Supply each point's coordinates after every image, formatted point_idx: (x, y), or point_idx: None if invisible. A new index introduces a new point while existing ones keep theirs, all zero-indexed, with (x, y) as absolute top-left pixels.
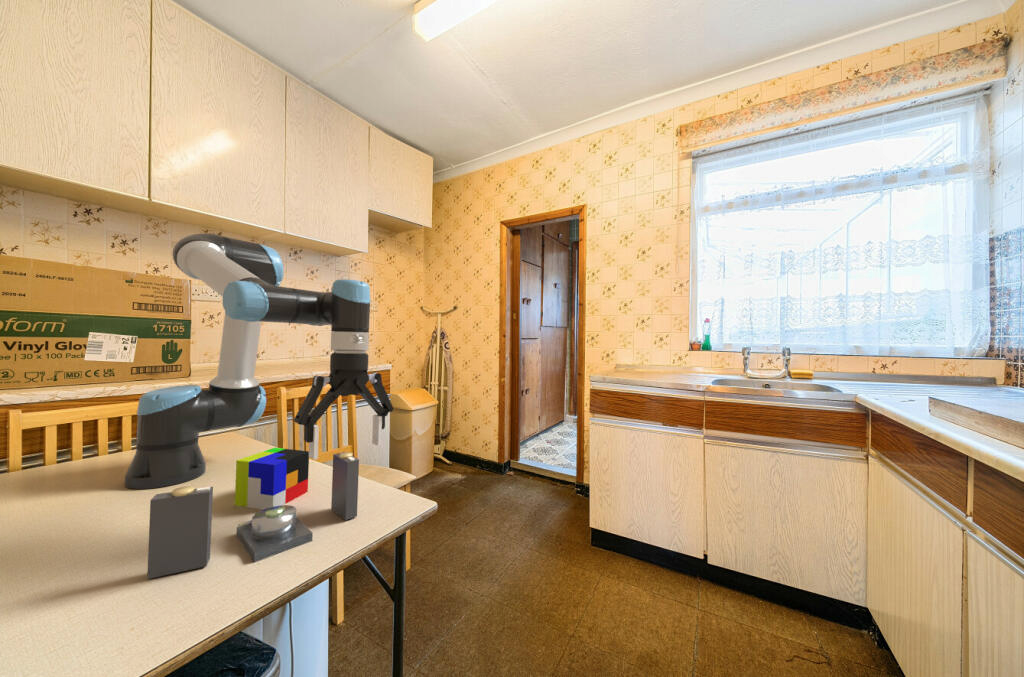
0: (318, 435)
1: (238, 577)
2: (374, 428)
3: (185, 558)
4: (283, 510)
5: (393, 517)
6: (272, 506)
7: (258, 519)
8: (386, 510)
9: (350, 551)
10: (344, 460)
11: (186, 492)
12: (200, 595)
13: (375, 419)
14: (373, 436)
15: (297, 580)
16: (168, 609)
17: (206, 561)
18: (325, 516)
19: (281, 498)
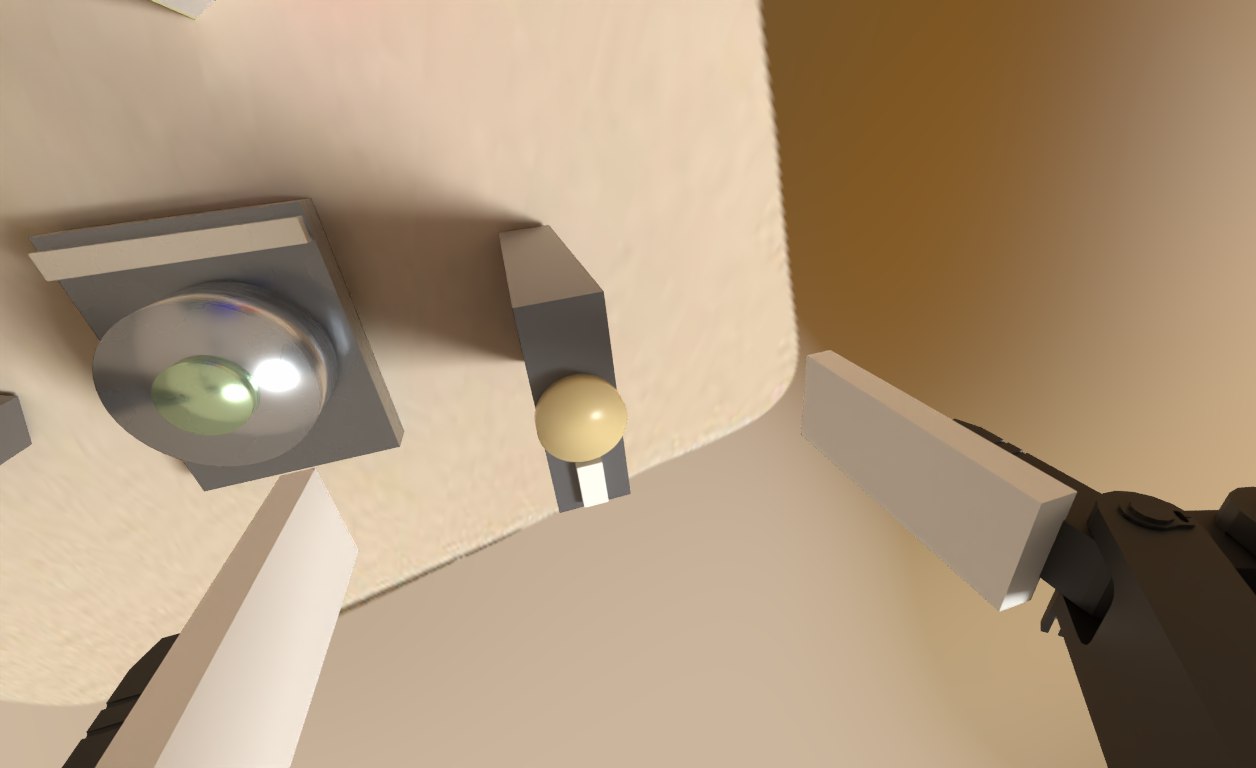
0: (296, 743)
1: (188, 524)
2: (897, 449)
3: None
4: (251, 413)
5: (668, 411)
6: (178, 10)
7: (138, 412)
8: (673, 353)
9: (501, 525)
10: (551, 476)
11: None
12: (95, 560)
13: (978, 525)
14: (843, 397)
15: (360, 583)
16: (21, 584)
17: (17, 452)
18: (467, 275)
19: None
